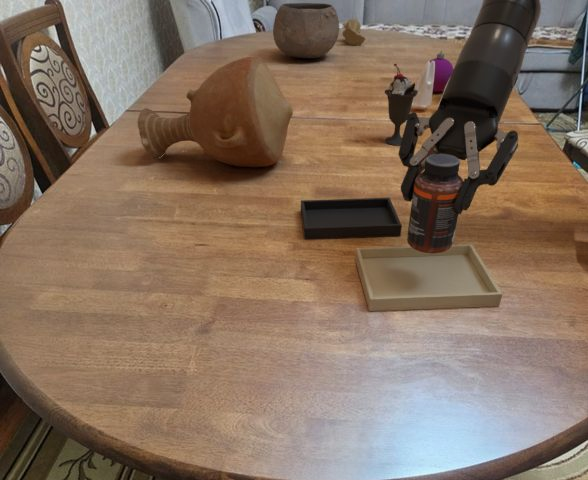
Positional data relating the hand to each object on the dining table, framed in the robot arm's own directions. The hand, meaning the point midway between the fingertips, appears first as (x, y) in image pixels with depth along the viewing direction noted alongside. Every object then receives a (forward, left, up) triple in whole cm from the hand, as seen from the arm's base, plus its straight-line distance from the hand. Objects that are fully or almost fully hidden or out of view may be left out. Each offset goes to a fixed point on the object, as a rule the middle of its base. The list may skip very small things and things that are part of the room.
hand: (431, 204), depth 67 cm
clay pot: (+6, -135, -12) cm, 136 cm away
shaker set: (-21, -76, -12) cm, 80 cm away
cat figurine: (-12, -156, -12) cm, 157 cm away
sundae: (-8, -56, -12) cm, 58 cm away
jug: (+29, -48, -12) cm, 58 cm away
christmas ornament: (-26, -93, -12) cm, 98 cm away
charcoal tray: (+7, -19, -12) cm, 24 cm away
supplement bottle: (-1, -1, -6) cm, 7 cm away
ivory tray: (-1, -1, -12) cm, 12 cm away
